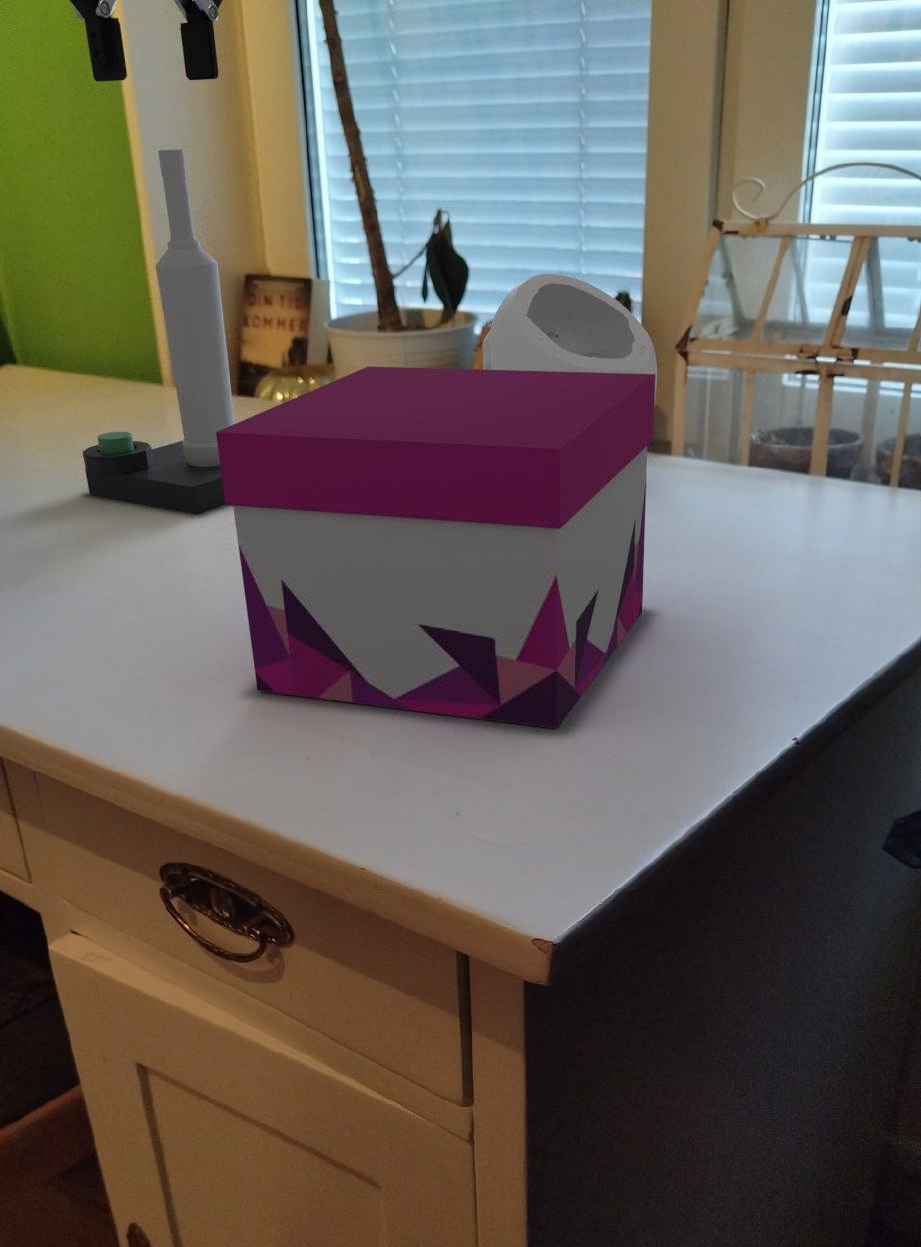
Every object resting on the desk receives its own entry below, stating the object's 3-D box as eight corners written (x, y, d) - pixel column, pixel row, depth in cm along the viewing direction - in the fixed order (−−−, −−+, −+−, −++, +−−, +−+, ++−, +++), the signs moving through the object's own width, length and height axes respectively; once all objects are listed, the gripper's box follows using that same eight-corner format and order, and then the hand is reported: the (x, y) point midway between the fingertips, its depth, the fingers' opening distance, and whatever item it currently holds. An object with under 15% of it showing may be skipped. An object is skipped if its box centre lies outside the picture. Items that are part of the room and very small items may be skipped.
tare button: (93, 454, 113) (90, 437, 113) (119, 447, 116) (116, 430, 115) (115, 458, 112) (112, 440, 111) (141, 451, 114) (138, 433, 113)
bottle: (175, 467, 113) (127, 152, 101) (198, 453, 117) (155, 150, 105) (228, 468, 112) (186, 150, 100) (250, 454, 116) (213, 147, 104)
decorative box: (384, 588, 89) (368, 366, 82) (647, 612, 83) (655, 374, 75) (250, 693, 74) (215, 432, 67) (560, 733, 67) (559, 449, 60)
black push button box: (78, 496, 115) (69, 452, 113) (182, 464, 124) (176, 423, 122) (188, 517, 107) (181, 470, 105) (291, 481, 116) (286, 437, 114)
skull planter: (574, 416, 126) (612, 238, 111) (647, 556, 116) (701, 382, 100) (443, 431, 123) (463, 250, 107) (506, 577, 113) (539, 400, 97)
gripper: (175, -170, 100) (203, 81, 108) (-10, -202, 88) (39, 83, 96) (244, -184, 96) (268, 77, 104) (60, -219, 84) (104, 79, 92)
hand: (158, 80), depth 100 cm, fingers open, 9 cm apart
